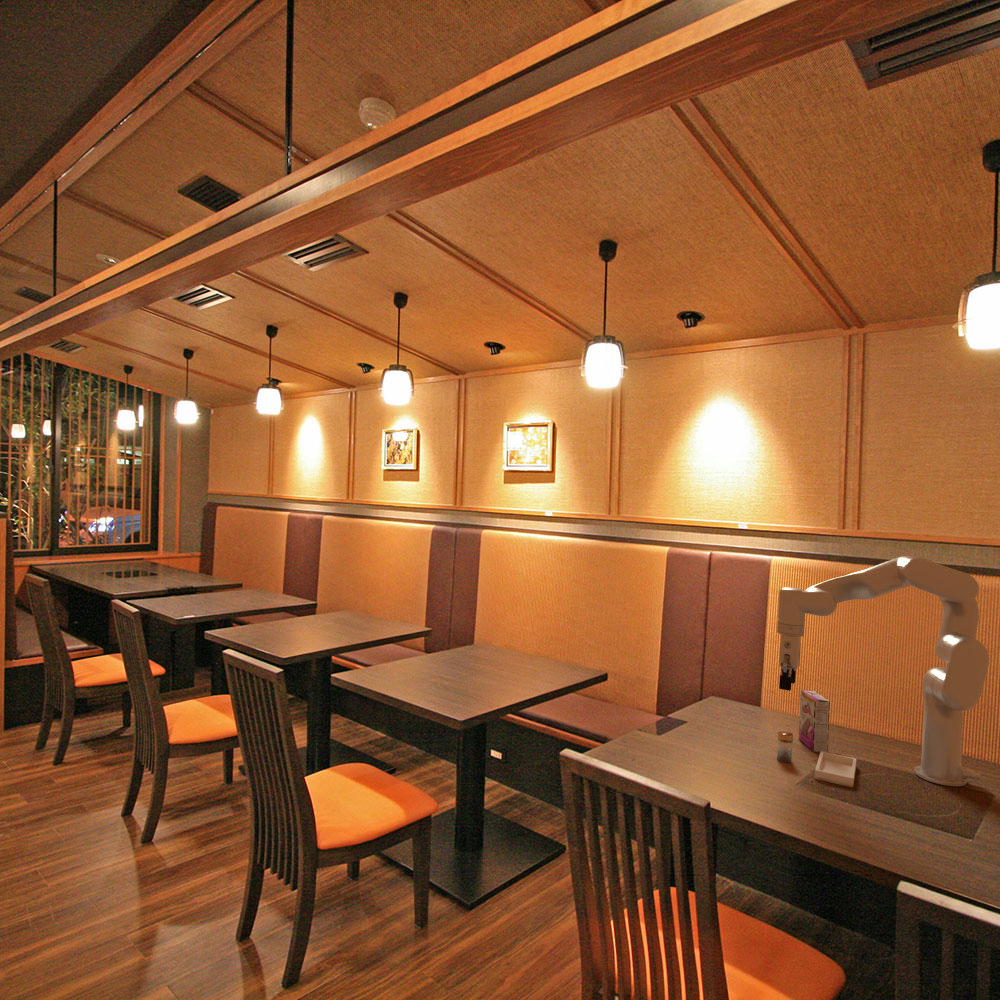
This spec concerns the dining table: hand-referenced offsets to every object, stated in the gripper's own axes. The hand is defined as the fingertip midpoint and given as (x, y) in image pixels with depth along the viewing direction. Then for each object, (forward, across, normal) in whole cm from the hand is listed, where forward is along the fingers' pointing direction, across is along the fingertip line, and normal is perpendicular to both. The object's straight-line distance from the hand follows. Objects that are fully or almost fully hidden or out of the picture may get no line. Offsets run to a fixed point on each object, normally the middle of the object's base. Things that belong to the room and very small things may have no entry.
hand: (787, 686), depth 203 cm
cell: (+22, 0, 0) cm, 22 cm away
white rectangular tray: (+22, -1, -14) cm, 26 cm away
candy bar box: (+22, +19, -6) cm, 30 cm away
